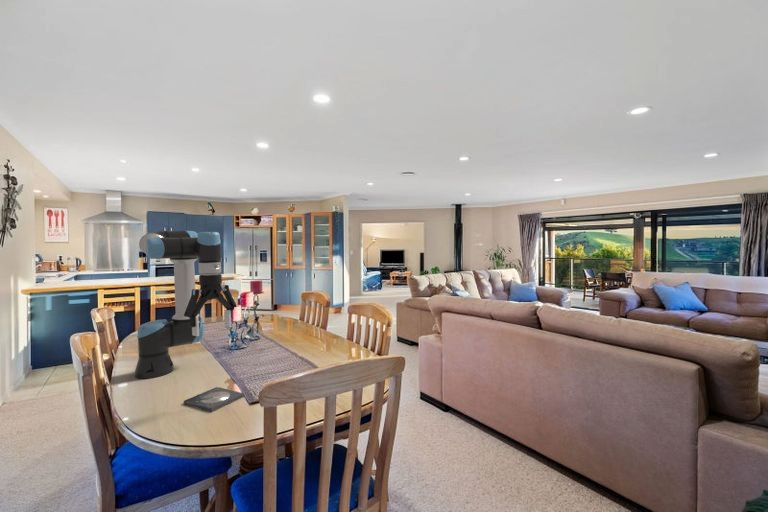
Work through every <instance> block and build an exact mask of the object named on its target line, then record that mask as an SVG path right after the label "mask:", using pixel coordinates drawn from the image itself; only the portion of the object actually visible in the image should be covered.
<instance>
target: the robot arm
mask: <svg viewBox="0 0 768 512" xmlns="http://www.w3.org/2000/svg"><path fill="white" fill-rule="evenodd" d="M220 235H221V234H220V233H219V232H218V231H200V232H198V233H197V232H196V231H194V230H186V229H185V230H155V231H152V232H149V233H146V234H145V235H143V236H141V238H140V239H139V242H138V245H139V246H138V247H139V249H140V251H142V253H144V254H146V257H147V259H149V260H152V259H153V260H162V259H169V261H170V262H172V264H173V274H174V275H173V277H174V301H175V302H174V305H175V306H174V307H175V314H174V315H172V317H171V321H168V320H167V319H165V318H164V319H155V320H152V321H148V322H145V323H143V324H141V325H139V326H138V328H137V336H136V338H137V349H138V351H137V352H138V361H137V363H136V366H135V370H134V377H135V378H137V379H153V378H159V377H161V376H165V375H168V374H170V373H172V372H173V371H174V369H175V368H174V367H175V366H174V365H175V364H174V362H173V360H172V358H171V355H170V353H169V352H170V351H169V348H173V347H179V346H184V345H185V346H186V345H192V344H196V343H200V341H201V340H202V339H203V338H204V333H205V320H204V318H203V317H201V315H200V311H201V310H202V308H203V307H204V305H205V304H206V303H207V302H208V301H211V300H218V302H220V304H221V305H222V306H223V307H224V308H225V309H224V310H223V314H224V315H223V316H224V327H225V328H232V319H233V310H234V309H235V308H237V303H236V301H235V299H234V297H233V296H232V293H231V292H230V287H229V286H230V285H229V284H222V283H223V278H222V277H223V276H222V275H223V274H221V273H222V258H221V257H222V256H221V254H222V252H221V243H222V241H221V236H220ZM196 261H198V274H200V275H198V282H199V283H198V284H199V286H200V287H199V289H196V278H195V277H196V276H195V275H196V274H195V272H196V271H195V262H196Z"/></svg>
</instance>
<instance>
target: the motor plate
mask: <svg viewBox="0 0 768 512" xmlns="http://www.w3.org/2000/svg"><path fill="white" fill-rule="evenodd" d="M244 397H245V393H243V392H240V391H236V390H232V389H228V388H224V387H218V386H216V387H214V388H211V389H209V390H206V391H204V392H201V393H200V394H196V395H194V396H192V397H190V398H187V399H185V400H183V404H184V405H187V406H190V407H193V408H196V409H200V410H204V411H208V412H211V413H212V412H216V411H217V410H220V409H222V408H223V407H225V406H228V405H230V404H232V403H234V402H236V401H238V400H241V399H242V398H244Z"/></svg>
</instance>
